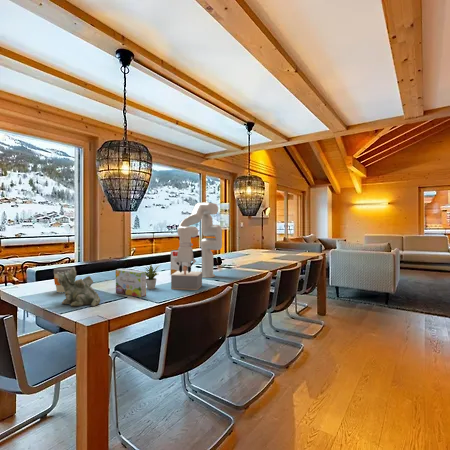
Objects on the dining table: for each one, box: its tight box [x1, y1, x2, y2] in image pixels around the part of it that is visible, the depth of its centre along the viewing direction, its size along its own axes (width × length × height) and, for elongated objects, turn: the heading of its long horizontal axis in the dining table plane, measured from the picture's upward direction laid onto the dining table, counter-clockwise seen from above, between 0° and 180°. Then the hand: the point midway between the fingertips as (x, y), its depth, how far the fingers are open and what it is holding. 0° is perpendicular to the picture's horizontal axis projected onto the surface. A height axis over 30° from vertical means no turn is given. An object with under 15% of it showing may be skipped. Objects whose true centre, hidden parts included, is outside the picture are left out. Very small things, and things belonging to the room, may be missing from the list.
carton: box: [170, 273, 203, 291], centre depth 204 cm, size 14×18×9 cm
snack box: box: [115, 267, 147, 298], centre depth 183 cm, size 21×6×15 cm, turn 62°
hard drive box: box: [170, 250, 189, 275], centre depth 251 cm, size 16×8×20 cm, turn 81°
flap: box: [170, 266, 202, 276], centre depth 204 cm, size 14×18×6 cm
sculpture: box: [57, 266, 101, 307], centre depth 164 cm, size 17×27×20 cm, turn 71°
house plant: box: [143, 264, 162, 290], centre depth 201 cm, size 14×14×16 cm
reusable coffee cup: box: [53, 266, 76, 293], centre depth 190 cm, size 13×13×15 cm
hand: (185, 271), depth 199 cm, fingers open, 5 cm apart
